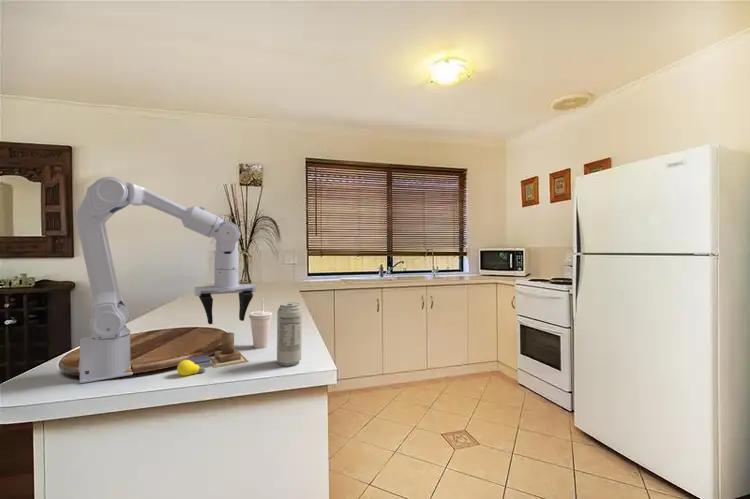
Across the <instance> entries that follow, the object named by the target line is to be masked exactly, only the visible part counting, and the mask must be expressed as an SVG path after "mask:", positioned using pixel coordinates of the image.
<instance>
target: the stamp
mask: <svg viewBox="0 0 750 499" xmlns="http://www.w3.org/2000/svg"><path fill="white" fill-rule="evenodd" d="M241 354H242V353H241V352H239V350H237V349H236V348H235V333H234V332H224V333H221V350H217V351H214V356H215V358H216V359H217V360H218V361H219V362H220V363H225V362H230V361H235V360H241Z"/></svg>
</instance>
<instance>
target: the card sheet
mask: <svg viewBox="0 0 750 499" xmlns="http://www.w3.org/2000/svg"><path fill="white" fill-rule="evenodd" d="M209 358H210V359H211V361H212V362H213V366H212V367H214V368H220V367H225V366H230V365H231V366H232V365H237V364H244V363H248V362H249V360H248V358H246V357H245V356H244V355H243V354H242V353H241V360H235V361H230V362H225V363H220V362H219V361H218V360H217V359H216V358H215V355H214V356H209Z"/></svg>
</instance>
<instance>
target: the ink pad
mask: <svg viewBox="0 0 750 499" xmlns="http://www.w3.org/2000/svg"><path fill="white" fill-rule="evenodd" d="M209 357H210V355H207V354H204V355H197V356H193V357H191V356H190V357H187V358H185V359H183V361H184V360H190V361H192V362H193V363H195V364H196V365H199V367H204V368H205V369H206V368H209V367H214V366H213V362H212V361H211V359H210V358H209Z"/></svg>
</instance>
